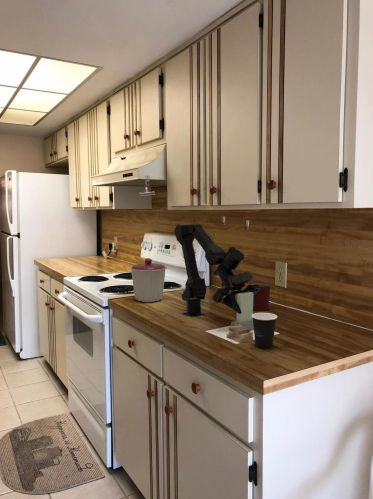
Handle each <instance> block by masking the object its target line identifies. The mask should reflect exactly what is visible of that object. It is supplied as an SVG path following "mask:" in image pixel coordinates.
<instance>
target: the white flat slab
mask: <svg viewBox="0 0 373 499" xmlns="http://www.w3.org/2000/svg"><path fill="white" fill-rule="evenodd" d="M237 325H241V326H243V327H246V328H248V329H250V332H253V340H250V341H249V342H251V341H255V337H254V327H253V321H251V322H246V323H241V324H240V323H237V320H234V321H231V322H230V325H227V326H224V327H219V328H212V329H210V330H205V332H206V333H208V334H211V335H214V336H215V337H218V338H220V339H224V340H226V341H229V342H230V343H233V344H236V345H238V344H240V343H239V342H237V341H234V340H232V339H229V338H227V334H229V327H231V326H237ZM279 334H280V332H277V331H275V332H274V336H275V335H279ZM246 342H247V343H248V341H246ZM246 342H245V343H246Z"/></svg>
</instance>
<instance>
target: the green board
mask: <svg viewBox="0 0 373 499" xmlns="http://www.w3.org/2000/svg"><path fill="white" fill-rule="evenodd" d="M236 301H237V303H238V305H239V307H240V309H241V312H242V313H241V314H239V313H237V312H236V321H237V323H240V324H241V323H246V322H251V321H253V317H252V314H254V312H253V293H252V292H246V293H239V294H237V295H236Z"/></svg>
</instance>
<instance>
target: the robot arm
mask: <svg viewBox="0 0 373 499" xmlns="http://www.w3.org/2000/svg"><path fill="white" fill-rule="evenodd" d="M173 231H174V235H175V238H176V241H177V242H178V243H179V244H180V246H181V249H182V254H183V260H184V266H185V270H186V275H187V279H186V282H185V285H184V286H185V290H183V293H182V294H181V299H182V301H183V302H186V310H185V311H183V314H185V315H186V316H190V317H196V316H200V315H204V314H205V313H204V312H203V311H202V304H201V301H202V300H205V299H206V294H207V285H206V280H205V278H203V277H201V276H200V273H199V268H198V263H197V259H196V258H197V257H196V253H195V248H194V243H193V242H194V240H196V241H197V243H198V244H199V245H200V247H201V248H202V250H203V252H204V258H205V259H206V262H207V263H208V265H209V266H211V267H212V266H216V267H215V268H214V271H213V276H218V277H219V279H220V281H221V282H222V283H221V284H220V285H221V287H220V288H218V289H217V290H216V291H215V293H214V294H213V297H212V300H213V301H214V303H215V304H218V303H221V304H222V305H225V306H226V307H228V308H230V309H231V310H233V311H235V313H236V314H237V313H239V314H241V313H242V312H241V309H240V307H239V305H238V303H237V298H236V296H237V294H239V293H246V292H252V293H253V296H254V295H255V294H256V293H257V292H258V291H259V290H260V287H259V285H258V284H253V283H250V282H251V280H253V277H254V275H253V274H252V272H251V271H250V270H246V271H244V272H242V273H241V272H240V273H238V274H236V273H235V270H237V269H238V267H239V266H240V265H241V263H242V262H243V261H244V259H245V255H244V253H243V252H242V251H240V250H239V249H237V248H236V247H235V246H230V247H229V248H228V250H227V251H226V250H224V249H223V248H222V247H221V246H218V245H217V244H215V242H213V240H212V239H211V237H210V236H209V234H207V232H206V231H205V229H204V228H203V225H202V224H200V223H191V224H190V223H189V224H188V223H187V224H181V223H180V224H177V225H176V226H175V228H174V229H173ZM248 282H249V284H248V285H247V286H246V284H247V283H248ZM245 286H246V287H245ZM244 287H245V288H244ZM255 311H256V310H255V306H254V300H253V313H254V312H255Z"/></svg>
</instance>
